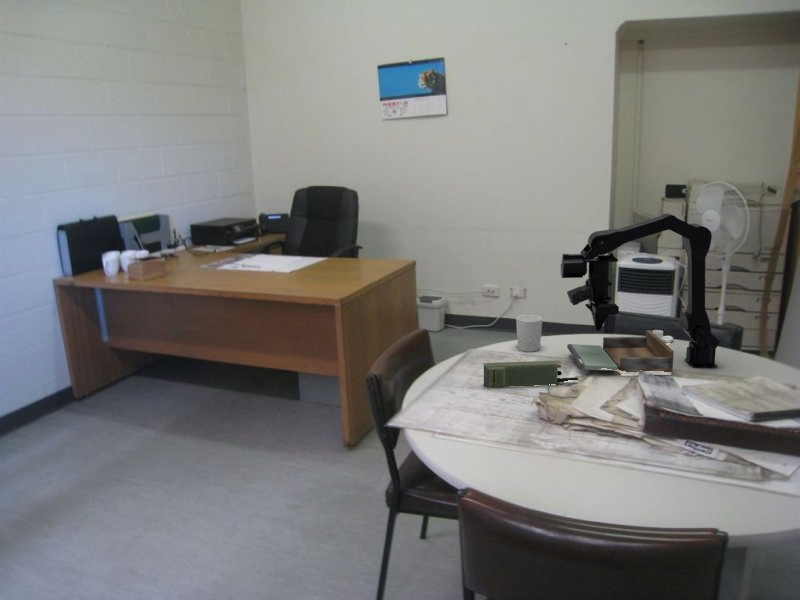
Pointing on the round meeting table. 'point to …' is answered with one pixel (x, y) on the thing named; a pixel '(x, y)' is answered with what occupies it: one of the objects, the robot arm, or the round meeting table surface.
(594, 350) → the panel
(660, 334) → the teacup and saucer
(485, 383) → the handheld radio
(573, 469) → the round meeting table surface
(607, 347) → the brown and grey drawer
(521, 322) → the white cup
